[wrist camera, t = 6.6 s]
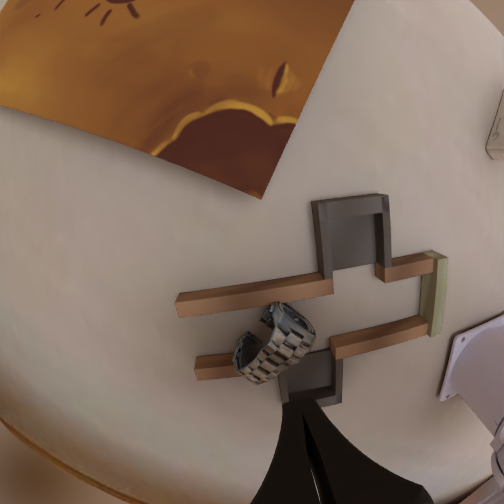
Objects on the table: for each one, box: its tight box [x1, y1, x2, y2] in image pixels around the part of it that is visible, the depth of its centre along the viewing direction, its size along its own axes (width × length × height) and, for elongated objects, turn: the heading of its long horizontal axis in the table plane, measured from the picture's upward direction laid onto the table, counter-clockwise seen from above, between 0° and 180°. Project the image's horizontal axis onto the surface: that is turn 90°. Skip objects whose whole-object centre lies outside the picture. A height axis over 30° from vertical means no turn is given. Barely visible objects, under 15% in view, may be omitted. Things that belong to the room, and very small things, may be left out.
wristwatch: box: [232, 301, 316, 385], centre depth 17 cm, size 3×5×5 cm, turn 133°
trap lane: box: [175, 193, 448, 408], centre depth 18 cm, size 18×15×2 cm
